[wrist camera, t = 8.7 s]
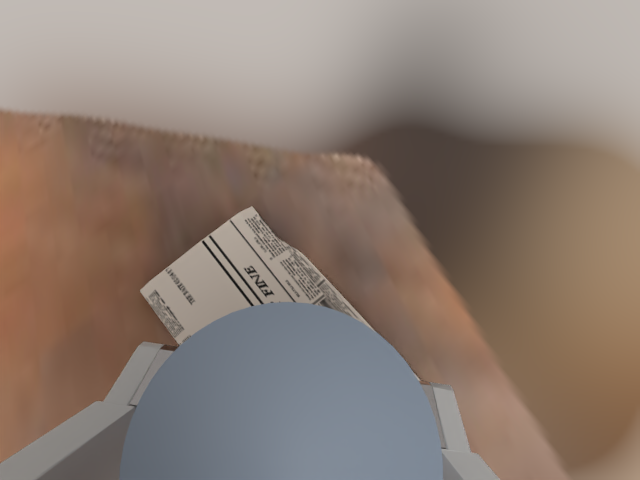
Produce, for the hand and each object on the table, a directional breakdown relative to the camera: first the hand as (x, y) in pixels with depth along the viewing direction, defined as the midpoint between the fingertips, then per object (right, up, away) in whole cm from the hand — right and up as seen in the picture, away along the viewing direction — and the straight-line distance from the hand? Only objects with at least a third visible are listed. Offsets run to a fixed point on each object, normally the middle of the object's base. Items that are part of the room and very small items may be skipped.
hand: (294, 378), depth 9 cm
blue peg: (0, -2, +5) cm, 5 cm away
